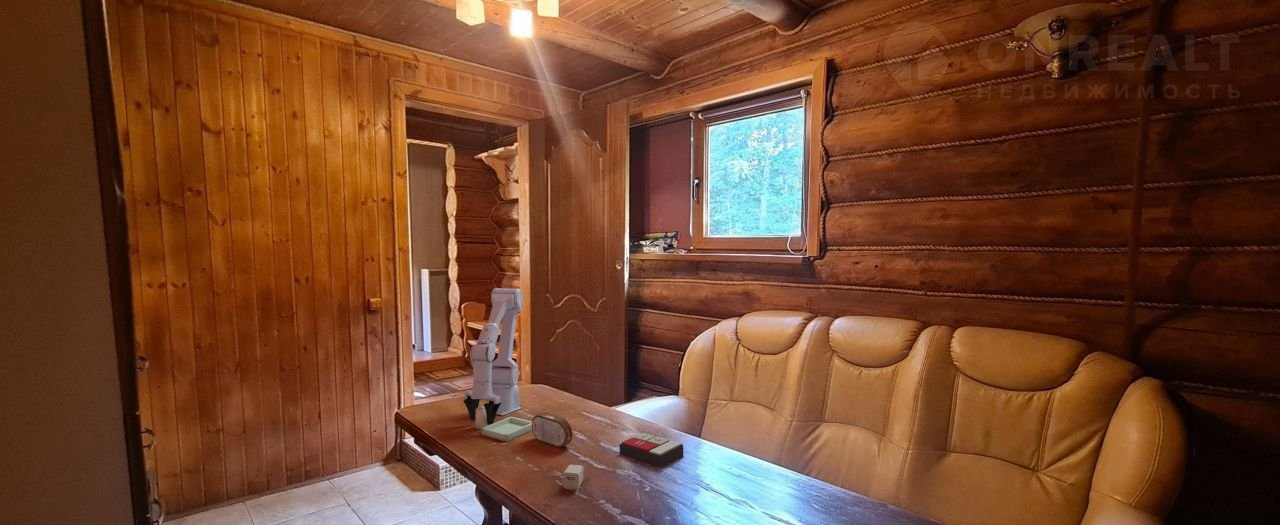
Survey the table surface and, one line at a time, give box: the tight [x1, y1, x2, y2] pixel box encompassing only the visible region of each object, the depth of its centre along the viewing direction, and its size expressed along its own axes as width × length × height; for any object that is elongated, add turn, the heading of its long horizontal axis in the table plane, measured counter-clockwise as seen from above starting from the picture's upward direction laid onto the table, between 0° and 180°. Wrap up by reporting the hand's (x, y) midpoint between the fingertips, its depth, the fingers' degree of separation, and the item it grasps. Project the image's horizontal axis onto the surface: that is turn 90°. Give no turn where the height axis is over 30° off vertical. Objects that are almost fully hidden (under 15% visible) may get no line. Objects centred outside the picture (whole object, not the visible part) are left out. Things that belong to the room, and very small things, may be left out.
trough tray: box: [480, 416, 533, 443], centre depth 154 cm, size 13×11×2 cm
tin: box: [531, 411, 573, 448], centre depth 145 cm, size 15×3×8 cm, turn 55°
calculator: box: [619, 432, 684, 469], centre depth 138 cm, size 11×4×15 cm
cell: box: [475, 405, 488, 430], centre depth 158 cm, size 4×4×6 cm
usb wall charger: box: [562, 464, 584, 490], centre depth 120 cm, size 4×7×4 cm, turn 172°
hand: (482, 421), depth 158 cm, fingers open, 7 cm apart
